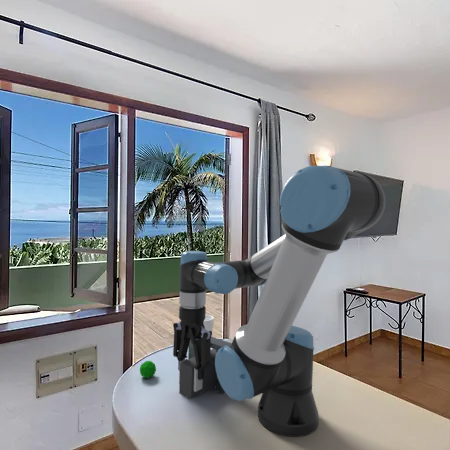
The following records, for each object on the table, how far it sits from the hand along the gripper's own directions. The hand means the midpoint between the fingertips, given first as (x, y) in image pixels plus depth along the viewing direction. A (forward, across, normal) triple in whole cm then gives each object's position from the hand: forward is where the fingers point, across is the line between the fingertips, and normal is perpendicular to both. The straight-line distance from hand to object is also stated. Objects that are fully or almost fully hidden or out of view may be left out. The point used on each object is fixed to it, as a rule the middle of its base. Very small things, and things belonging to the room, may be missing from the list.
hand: (190, 385), depth 98 cm
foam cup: (+2, +19, -24) cm, 31 cm away
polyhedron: (+2, +17, +2) cm, 17 cm away
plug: (+2, 0, -8) cm, 8 cm away
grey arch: (+2, 0, -8) cm, 8 cm away
